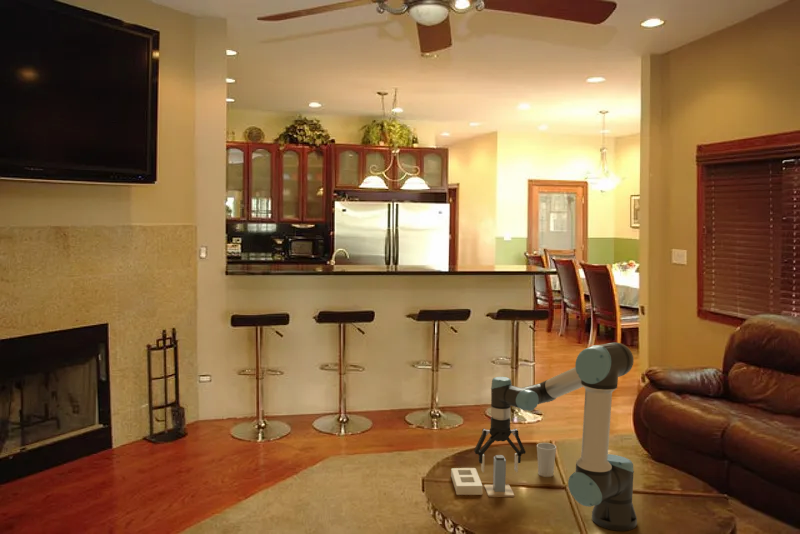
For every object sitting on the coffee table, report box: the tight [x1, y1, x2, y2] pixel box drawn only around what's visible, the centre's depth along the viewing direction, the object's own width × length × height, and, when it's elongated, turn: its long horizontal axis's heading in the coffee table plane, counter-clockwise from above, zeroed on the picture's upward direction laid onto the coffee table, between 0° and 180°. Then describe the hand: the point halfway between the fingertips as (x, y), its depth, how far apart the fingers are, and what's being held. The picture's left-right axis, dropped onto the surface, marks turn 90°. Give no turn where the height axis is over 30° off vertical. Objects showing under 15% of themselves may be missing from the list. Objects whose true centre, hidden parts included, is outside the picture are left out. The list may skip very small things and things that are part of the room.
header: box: [450, 467, 484, 496], centre depth 260 cm, size 18×10×4 cm, turn 2°
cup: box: [536, 442, 557, 478], centre depth 272 cm, size 8×8×12 cm
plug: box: [492, 454, 507, 492], centre depth 255 cm, size 4×4×13 cm
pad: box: [483, 484, 515, 498], centre depth 255 cm, size 10×10×1 cm
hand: (499, 471), depth 254 cm, fingers open, 12 cm apart
